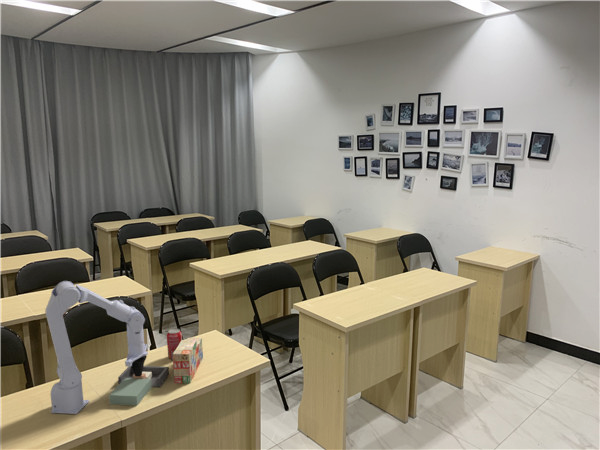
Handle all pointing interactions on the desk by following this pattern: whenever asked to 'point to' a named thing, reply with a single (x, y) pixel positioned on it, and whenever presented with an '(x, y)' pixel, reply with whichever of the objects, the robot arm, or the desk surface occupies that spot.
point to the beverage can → (173, 341)
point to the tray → (157, 371)
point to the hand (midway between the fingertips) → (138, 375)
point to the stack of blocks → (187, 359)
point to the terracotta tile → (140, 376)
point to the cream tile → (148, 375)
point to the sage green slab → (130, 391)
